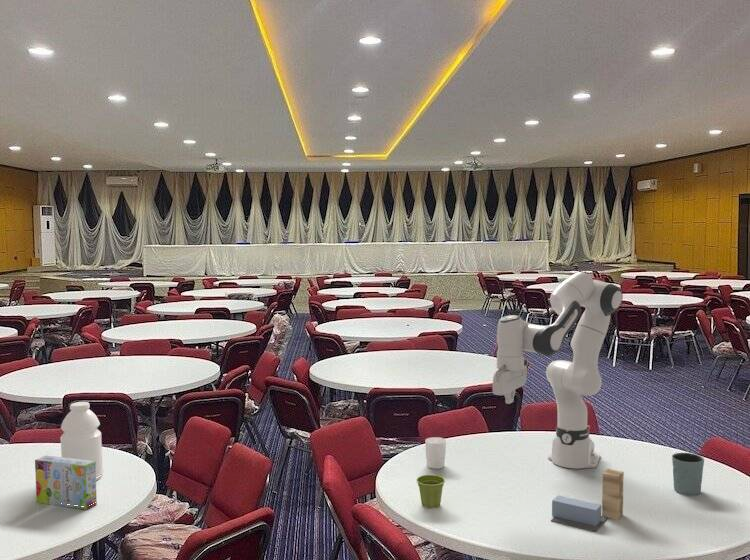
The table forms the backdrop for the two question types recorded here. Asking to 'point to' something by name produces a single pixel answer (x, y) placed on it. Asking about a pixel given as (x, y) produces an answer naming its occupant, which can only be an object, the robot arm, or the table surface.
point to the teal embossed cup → (687, 473)
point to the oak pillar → (612, 494)
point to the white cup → (435, 452)
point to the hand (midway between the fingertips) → (509, 402)
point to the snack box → (66, 482)
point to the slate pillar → (576, 510)
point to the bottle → (82, 436)
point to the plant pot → (430, 490)
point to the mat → (579, 524)
